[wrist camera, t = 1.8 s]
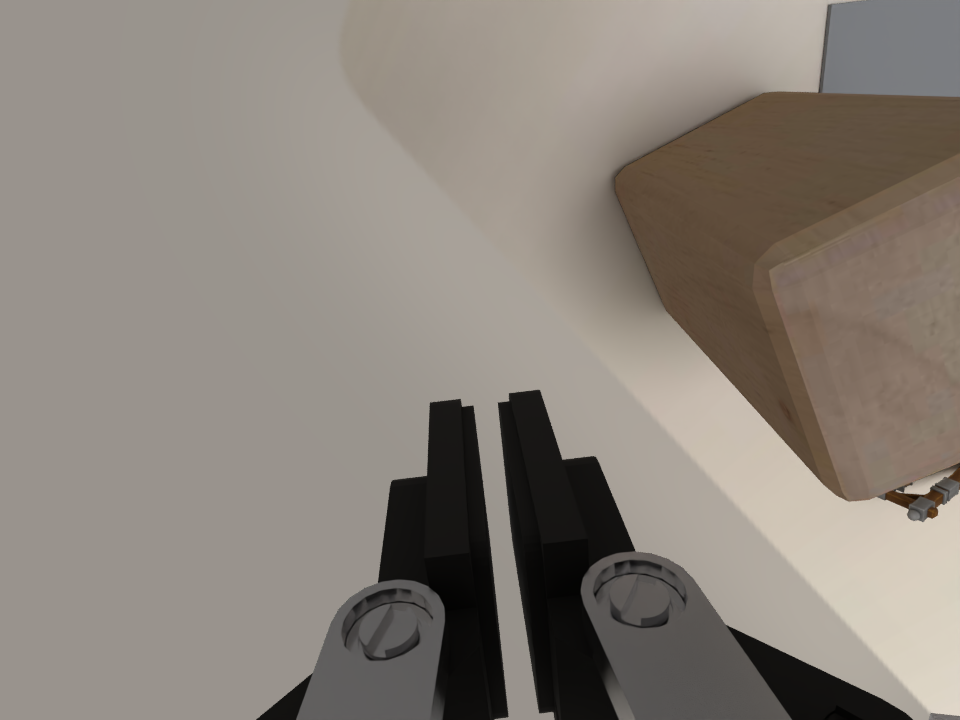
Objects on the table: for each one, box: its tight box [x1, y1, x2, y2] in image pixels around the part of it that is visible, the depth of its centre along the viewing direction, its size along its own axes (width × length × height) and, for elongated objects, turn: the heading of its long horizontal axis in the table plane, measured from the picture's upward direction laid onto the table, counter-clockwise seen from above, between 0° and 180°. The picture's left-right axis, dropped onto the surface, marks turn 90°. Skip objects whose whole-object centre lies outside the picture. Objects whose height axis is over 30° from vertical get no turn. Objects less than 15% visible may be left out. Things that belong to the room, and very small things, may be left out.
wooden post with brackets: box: [877, 467, 960, 522], centre depth 44 cm, size 2×8×4 cm, turn 102°
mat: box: [819, 0, 960, 97], centre depth 37 cm, size 20×16×1 cm
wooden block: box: [615, 92, 960, 501], centre depth 28 cm, size 10×10×20 cm
